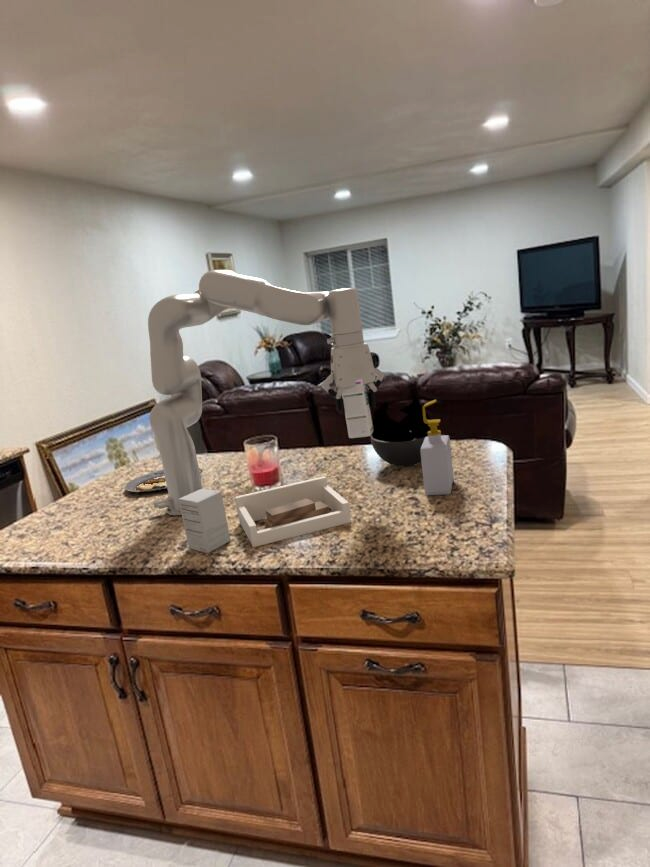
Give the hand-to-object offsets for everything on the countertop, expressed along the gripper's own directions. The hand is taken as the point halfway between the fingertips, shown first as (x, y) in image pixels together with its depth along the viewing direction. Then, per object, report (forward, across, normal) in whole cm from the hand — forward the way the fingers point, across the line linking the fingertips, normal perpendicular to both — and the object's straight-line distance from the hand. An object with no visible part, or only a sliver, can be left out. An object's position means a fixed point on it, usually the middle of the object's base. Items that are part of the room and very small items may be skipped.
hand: (357, 410), depth 150 cm
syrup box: (+7, 0, 0) cm, 7 cm away
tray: (+24, -21, -2) cm, 32 cm away
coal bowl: (+24, +21, +21) cm, 38 cm away
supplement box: (+25, -42, -3) cm, 49 cm away
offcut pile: (+25, -21, -5) cm, 33 cm away
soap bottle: (+24, +19, -3) cm, 31 cm away
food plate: (+25, -49, +61) cm, 82 cm away
